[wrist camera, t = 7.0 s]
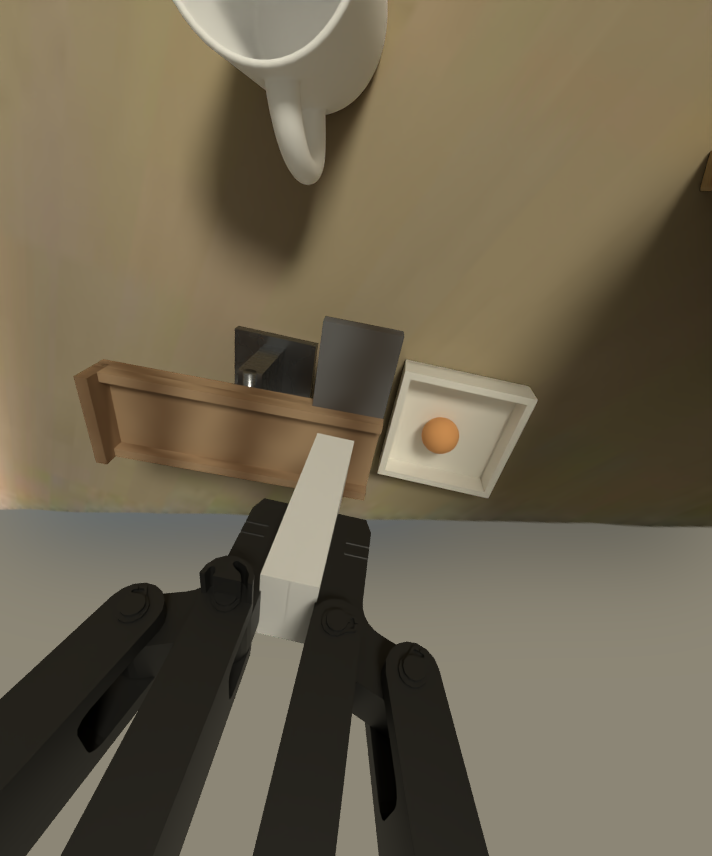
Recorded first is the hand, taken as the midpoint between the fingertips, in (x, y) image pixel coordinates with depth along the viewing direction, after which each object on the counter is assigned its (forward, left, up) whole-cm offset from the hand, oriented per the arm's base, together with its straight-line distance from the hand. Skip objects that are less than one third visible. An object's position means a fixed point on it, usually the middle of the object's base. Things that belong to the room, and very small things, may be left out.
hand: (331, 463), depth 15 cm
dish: (+9, -7, -18) cm, 21 cm away
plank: (-8, -4, -11) cm, 14 cm away
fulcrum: (-8, -7, -18) cm, 21 cm away
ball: (+8, -7, -16) cm, 19 cm away
